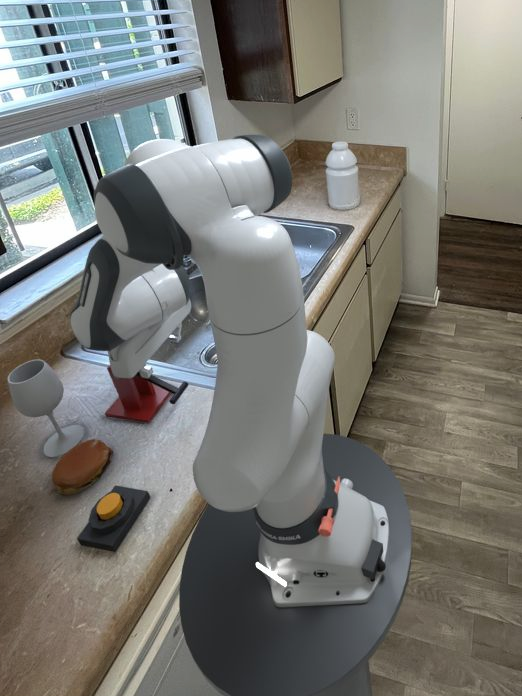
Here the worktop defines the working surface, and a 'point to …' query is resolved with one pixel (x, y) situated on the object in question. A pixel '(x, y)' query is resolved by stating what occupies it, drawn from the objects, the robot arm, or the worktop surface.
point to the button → (109, 506)
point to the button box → (114, 520)
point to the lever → (167, 387)
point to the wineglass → (42, 402)
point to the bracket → (136, 399)
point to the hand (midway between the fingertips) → (162, 357)
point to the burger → (81, 466)
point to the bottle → (342, 177)
